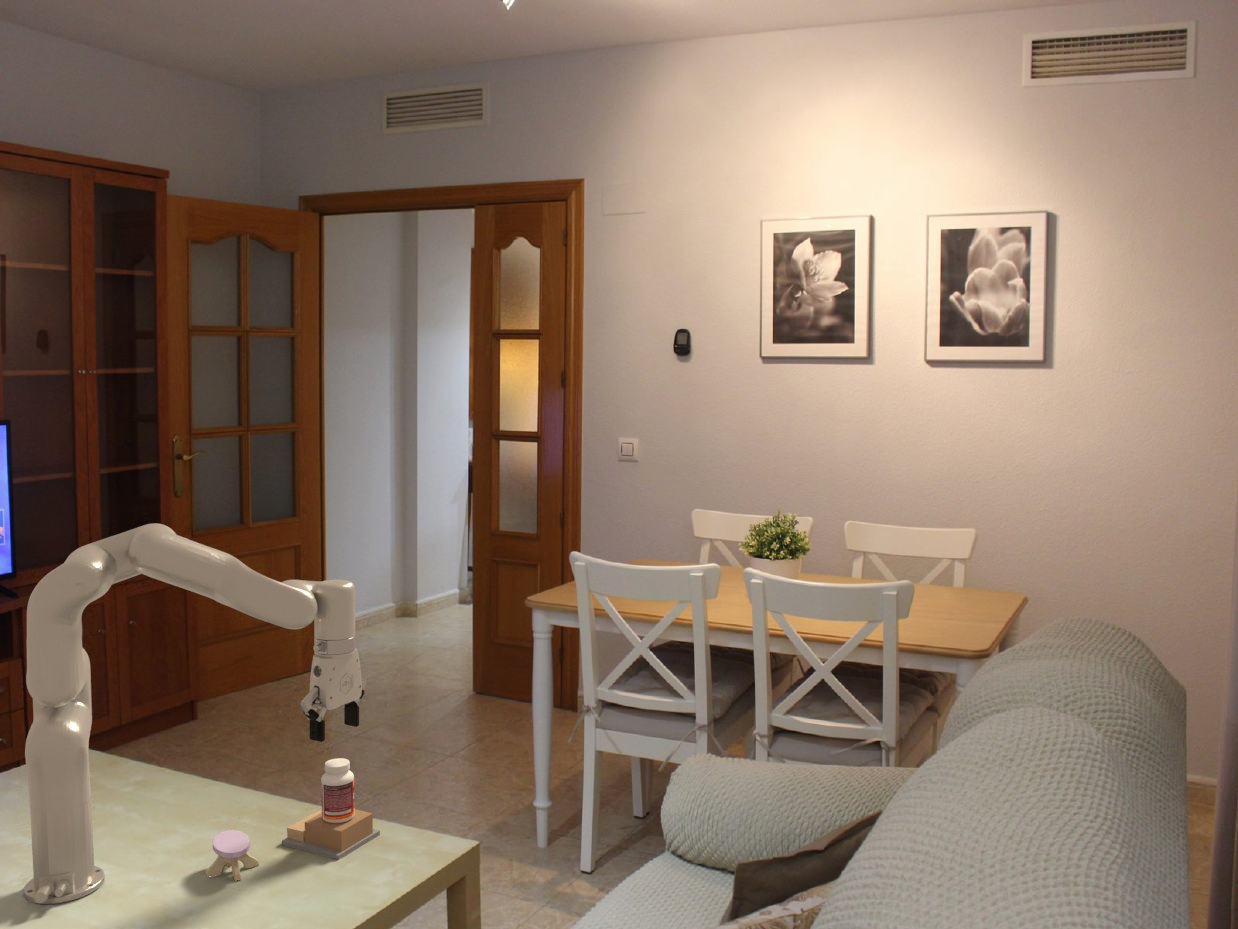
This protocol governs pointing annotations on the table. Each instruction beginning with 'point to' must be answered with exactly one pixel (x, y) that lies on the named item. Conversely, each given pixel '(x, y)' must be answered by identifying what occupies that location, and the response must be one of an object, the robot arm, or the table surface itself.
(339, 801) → the pill bottle
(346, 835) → the stand
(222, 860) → the toy table
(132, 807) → the table surface
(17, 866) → the table surface
